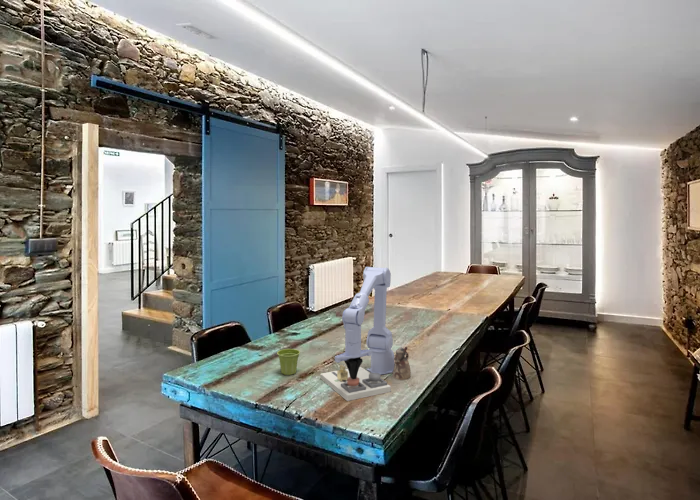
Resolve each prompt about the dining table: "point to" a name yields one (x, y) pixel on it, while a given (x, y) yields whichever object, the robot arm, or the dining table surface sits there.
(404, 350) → the figurine
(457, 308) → the dining table surface
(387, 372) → the robot arm
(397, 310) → the dining table surface
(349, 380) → the red button
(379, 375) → the grey button
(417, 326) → the dining table surface
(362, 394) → the control board
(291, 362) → the plant pot
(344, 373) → the brass slider
